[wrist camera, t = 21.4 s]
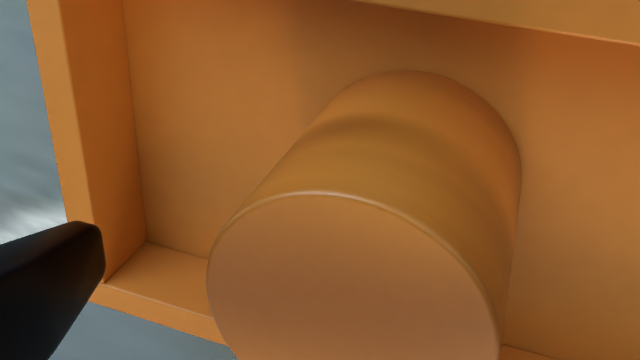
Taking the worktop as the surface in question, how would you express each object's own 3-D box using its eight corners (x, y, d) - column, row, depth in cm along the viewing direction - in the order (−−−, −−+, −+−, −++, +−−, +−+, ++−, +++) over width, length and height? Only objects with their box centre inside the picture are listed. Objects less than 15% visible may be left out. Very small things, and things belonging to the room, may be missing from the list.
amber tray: (716, 411, 14) (741, 514, 12) (137, 244, 18) (81, 299, 16) (970, -2, 9) (1090, 50, 7) (97, -110, 13) (7, -98, 11)
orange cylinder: (495, 280, 14) (465, 470, 10) (305, 230, 15) (208, 382, 11) (548, 93, 11) (538, 241, 7) (317, 50, 13) (198, 158, 9)
